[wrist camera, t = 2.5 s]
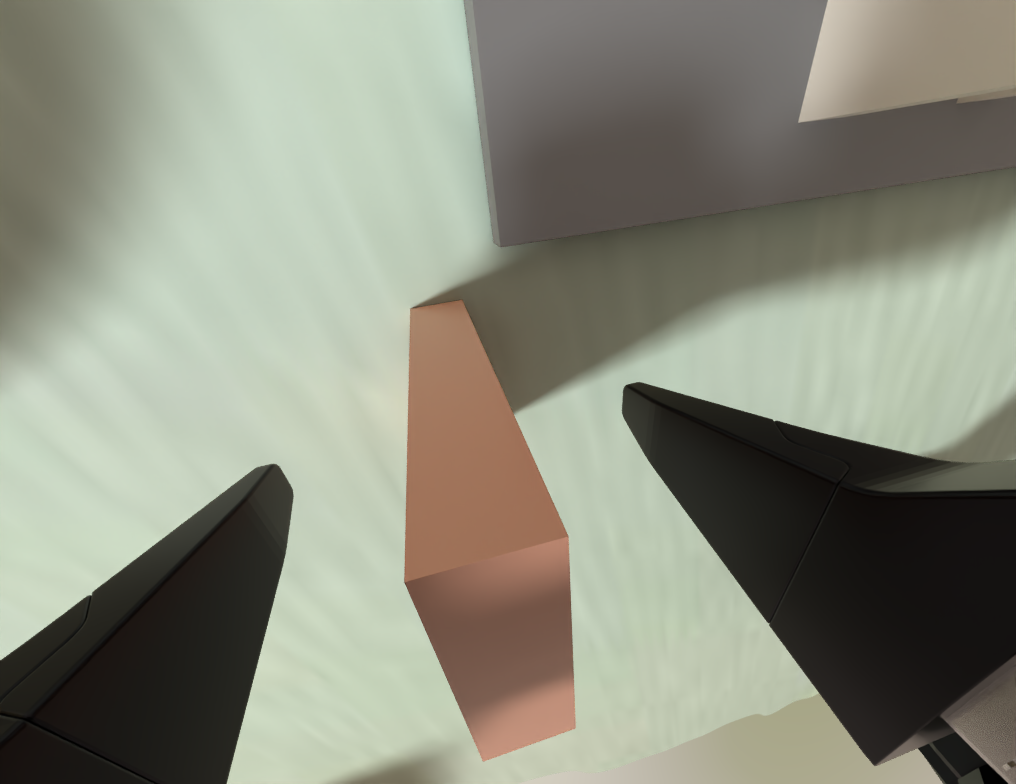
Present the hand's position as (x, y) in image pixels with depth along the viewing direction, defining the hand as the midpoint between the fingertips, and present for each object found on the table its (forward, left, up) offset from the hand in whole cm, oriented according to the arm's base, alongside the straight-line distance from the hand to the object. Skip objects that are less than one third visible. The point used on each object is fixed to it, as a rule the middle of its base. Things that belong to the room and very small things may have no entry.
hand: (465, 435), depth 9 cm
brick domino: (0, 0, -4) cm, 4 cm away
